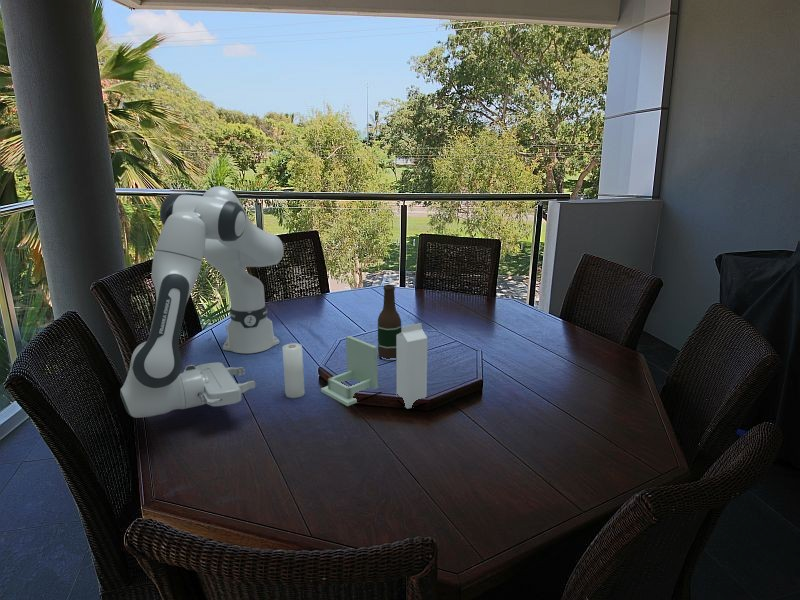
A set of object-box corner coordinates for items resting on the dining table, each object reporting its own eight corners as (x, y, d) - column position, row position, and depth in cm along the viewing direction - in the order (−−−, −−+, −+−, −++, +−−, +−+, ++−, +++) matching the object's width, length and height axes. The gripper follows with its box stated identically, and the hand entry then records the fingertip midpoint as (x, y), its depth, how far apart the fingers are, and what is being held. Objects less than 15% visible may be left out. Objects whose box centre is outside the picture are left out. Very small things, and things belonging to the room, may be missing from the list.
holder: (320, 391, 151) (318, 345, 147) (354, 379, 159) (353, 334, 155) (347, 406, 142) (345, 357, 138) (381, 392, 150) (380, 345, 146)
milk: (426, 404, 144) (428, 326, 137) (407, 409, 141) (408, 330, 135) (414, 394, 149) (416, 319, 143) (395, 399, 146) (396, 323, 140)
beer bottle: (398, 362, 171) (398, 289, 164) (375, 360, 172) (374, 288, 165) (403, 353, 178) (403, 283, 171) (380, 351, 180) (380, 281, 173)
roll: (284, 391, 151) (281, 343, 147) (303, 388, 153) (300, 341, 149) (286, 399, 146) (283, 350, 142) (305, 396, 148) (303, 348, 144)
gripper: (201, 392, 125) (260, 380, 132) (185, 363, 142) (238, 353, 149) (204, 417, 127) (262, 403, 134) (188, 385, 144) (240, 374, 151)
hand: (249, 376), depth 141 cm, fingers open, 8 cm apart
